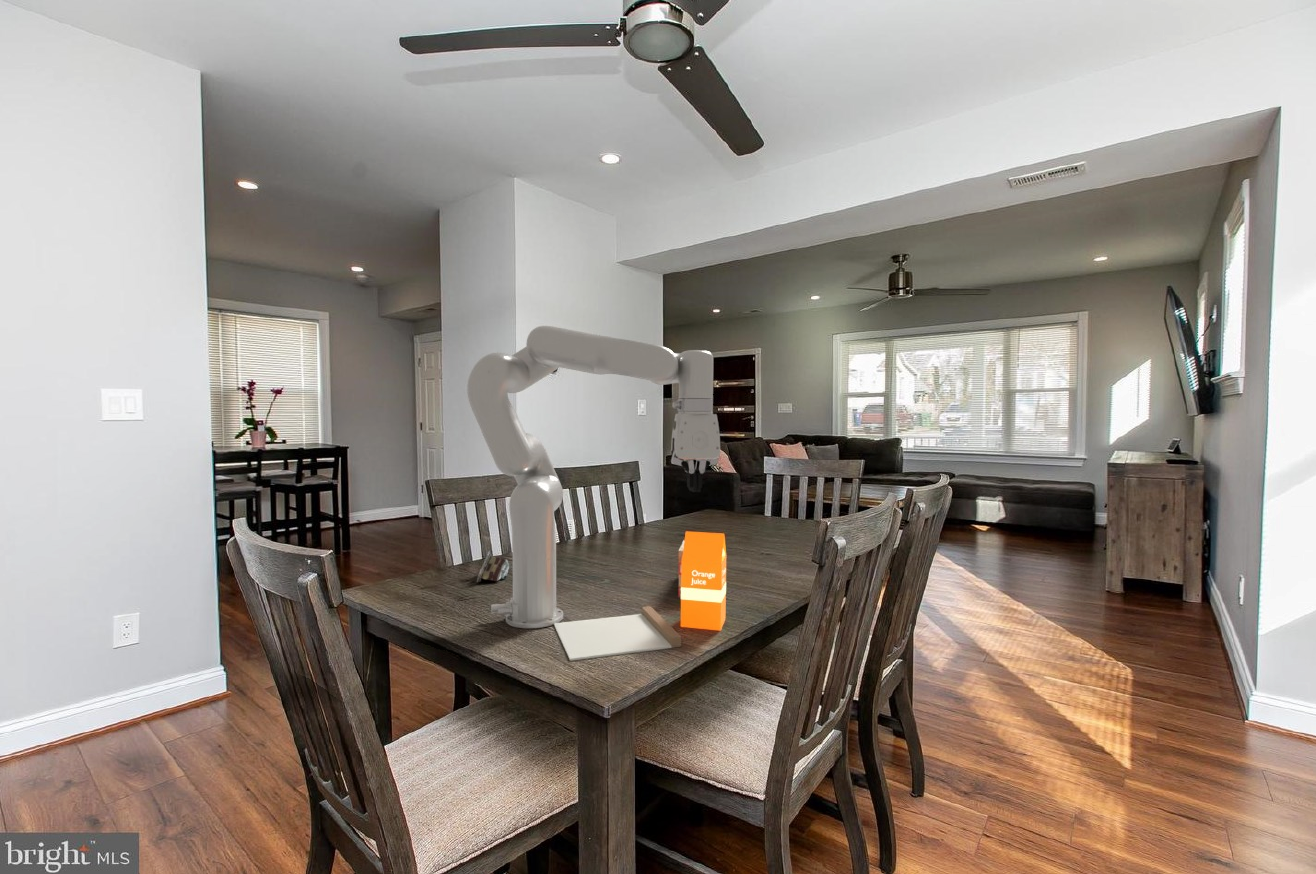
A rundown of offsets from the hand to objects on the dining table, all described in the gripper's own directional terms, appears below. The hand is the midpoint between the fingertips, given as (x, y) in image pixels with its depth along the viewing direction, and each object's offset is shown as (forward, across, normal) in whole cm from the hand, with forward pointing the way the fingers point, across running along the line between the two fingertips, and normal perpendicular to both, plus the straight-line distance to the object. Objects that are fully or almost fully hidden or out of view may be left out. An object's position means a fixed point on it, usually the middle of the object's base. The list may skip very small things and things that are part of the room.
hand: (694, 490), depth 131 cm
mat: (+29, -20, -3) cm, 35 cm away
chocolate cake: (+32, -42, +44) cm, 69 cm away
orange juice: (+29, +2, -1) cm, 29 cm away
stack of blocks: (+29, +10, +26) cm, 40 cm away
